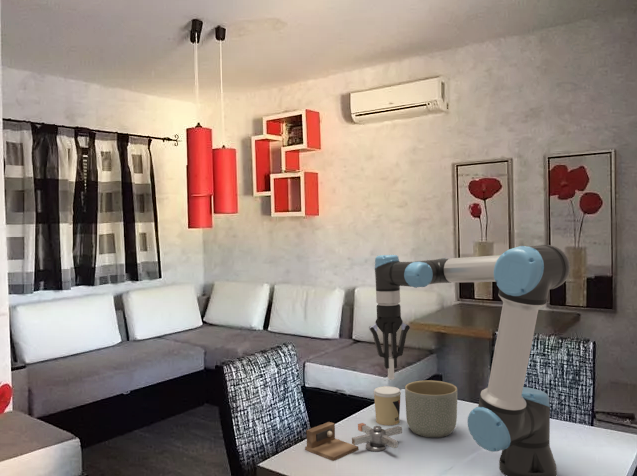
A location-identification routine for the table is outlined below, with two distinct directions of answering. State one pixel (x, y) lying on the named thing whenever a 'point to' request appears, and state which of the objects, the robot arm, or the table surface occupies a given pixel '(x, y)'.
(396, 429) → the silver cross-shaped piece
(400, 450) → the table surface
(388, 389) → the coffee cup
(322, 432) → the stand
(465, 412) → the table surface
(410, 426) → the planter
